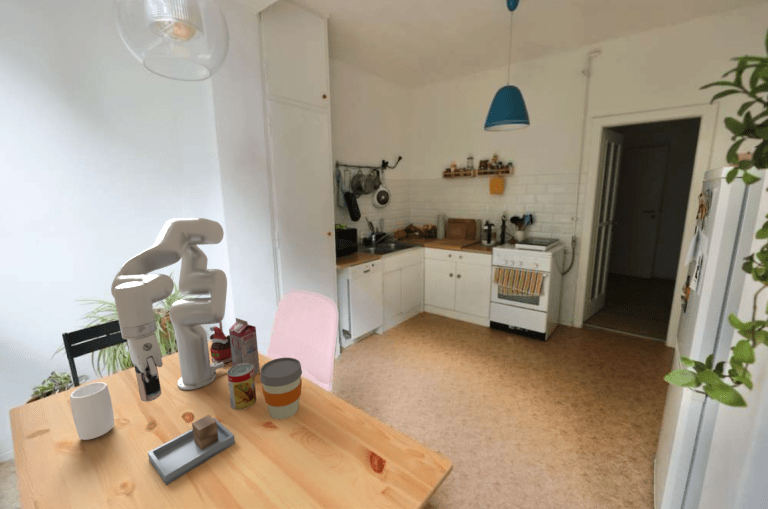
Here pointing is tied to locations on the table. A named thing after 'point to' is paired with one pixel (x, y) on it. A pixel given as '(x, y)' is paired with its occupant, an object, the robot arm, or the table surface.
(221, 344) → the christmas cupcake figurine
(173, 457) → the tray
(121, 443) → the table surface
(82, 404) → the cup
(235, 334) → the juice carton
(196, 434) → the block
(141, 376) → the beer can
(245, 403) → the canned food
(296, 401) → the reusable coffee cup
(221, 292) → the robot arm
